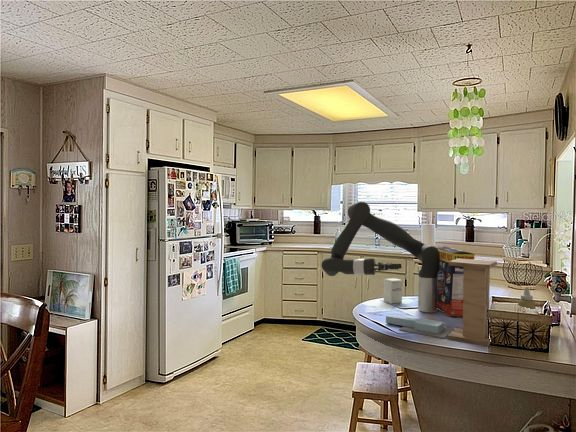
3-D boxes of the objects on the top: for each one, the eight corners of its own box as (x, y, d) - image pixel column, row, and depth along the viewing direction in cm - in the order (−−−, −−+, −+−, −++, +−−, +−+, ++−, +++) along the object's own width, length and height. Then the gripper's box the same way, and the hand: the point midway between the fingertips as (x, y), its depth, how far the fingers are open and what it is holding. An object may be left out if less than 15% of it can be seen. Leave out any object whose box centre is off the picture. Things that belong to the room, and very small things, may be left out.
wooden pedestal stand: (457, 330, 184) (458, 258, 183) (495, 337, 175) (496, 261, 174) (447, 338, 172) (448, 261, 172) (487, 346, 164) (489, 264, 163)
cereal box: (472, 318, 205) (476, 251, 204) (449, 317, 205) (452, 250, 204) (450, 306, 231) (453, 246, 231) (430, 305, 231) (432, 245, 231)
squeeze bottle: (531, 331, 183) (532, 289, 183) (512, 327, 190) (512, 286, 189) (540, 328, 188) (541, 287, 187) (521, 324, 194) (521, 284, 194)
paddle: (391, 319, 198) (391, 313, 198) (444, 329, 184) (444, 322, 184) (383, 323, 192) (383, 317, 192) (438, 333, 178) (438, 326, 177)
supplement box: (391, 303, 234) (391, 280, 234) (383, 301, 241) (383, 278, 241) (402, 302, 237) (402, 279, 236) (394, 300, 244) (394, 277, 243)
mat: (411, 322, 196) (411, 321, 196) (455, 330, 185) (455, 328, 185) (399, 330, 184) (399, 328, 184) (444, 338, 173) (444, 337, 173)
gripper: (360, 259, 194) (397, 258, 188) (367, 258, 207) (401, 257, 201) (361, 275, 194) (398, 275, 187) (367, 274, 207) (402, 273, 201)
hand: (400, 266), depth 194 cm, fingers open, 8 cm apart
